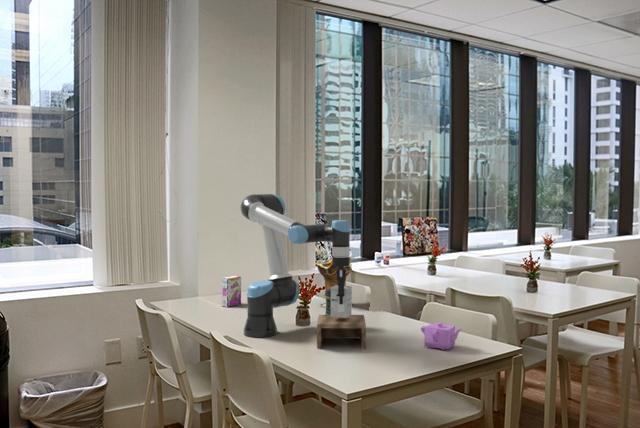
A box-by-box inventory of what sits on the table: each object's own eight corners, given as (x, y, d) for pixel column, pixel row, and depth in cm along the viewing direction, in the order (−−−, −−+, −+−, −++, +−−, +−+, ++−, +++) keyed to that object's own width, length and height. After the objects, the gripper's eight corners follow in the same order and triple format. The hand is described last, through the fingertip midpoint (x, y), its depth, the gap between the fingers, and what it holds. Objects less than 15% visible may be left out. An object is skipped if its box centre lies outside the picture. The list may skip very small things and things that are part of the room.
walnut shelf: (317, 348, 224) (316, 324, 224) (318, 337, 242) (318, 314, 242) (365, 348, 224) (365, 324, 223) (364, 337, 242) (363, 314, 241)
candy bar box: (227, 307, 307) (227, 278, 307) (221, 306, 310) (221, 277, 310) (241, 304, 316) (241, 276, 316) (235, 303, 319) (235, 275, 319)
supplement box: (330, 317, 231) (329, 287, 230) (336, 313, 237) (336, 284, 237) (346, 318, 228) (346, 288, 227) (352, 314, 235) (352, 285, 234)
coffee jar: (330, 329, 255) (330, 290, 255) (322, 326, 262) (322, 288, 261) (348, 327, 260) (348, 288, 259) (339, 323, 267) (339, 286, 266)
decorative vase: (309, 307, 304) (310, 257, 304) (325, 302, 325) (326, 255, 325) (344, 310, 296) (345, 259, 296) (358, 304, 317) (359, 256, 317)
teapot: (467, 347, 225) (468, 322, 225) (457, 355, 214) (457, 329, 213) (426, 341, 235) (426, 317, 235) (414, 348, 223) (414, 324, 223)
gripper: (350, 259, 221) (350, 314, 222) (349, 253, 242) (349, 304, 243) (331, 259, 221) (331, 314, 222) (332, 253, 243) (332, 304, 243)
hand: (341, 309), depth 232 cm, fingers closed on supplement box, 9 cm apart
